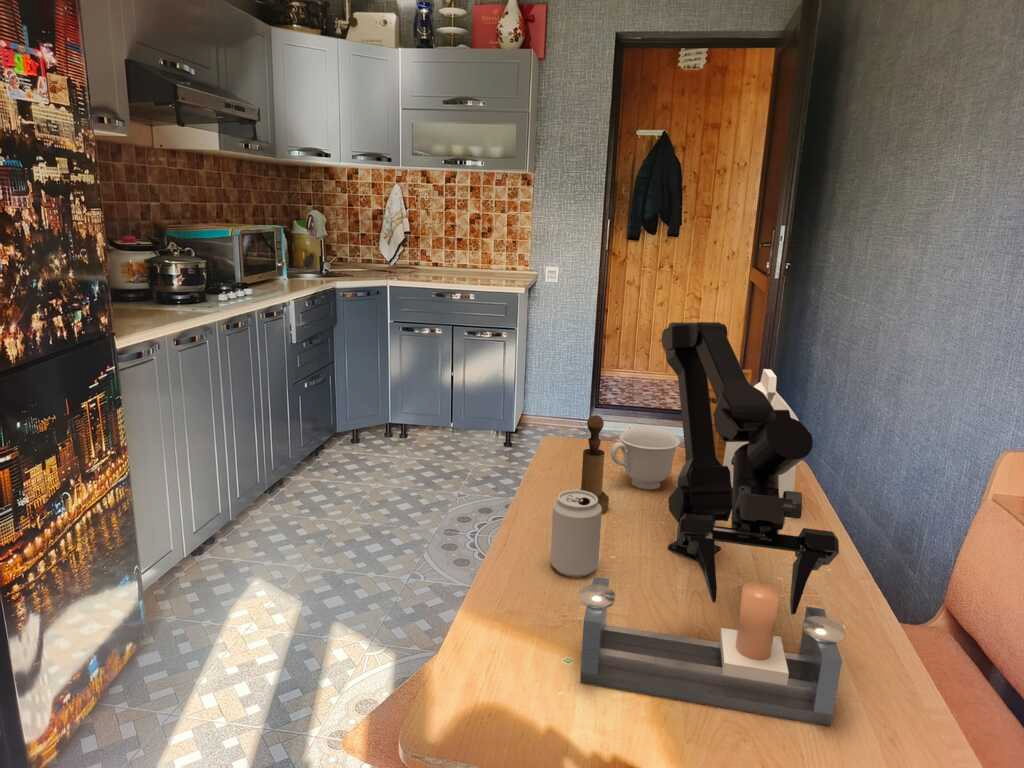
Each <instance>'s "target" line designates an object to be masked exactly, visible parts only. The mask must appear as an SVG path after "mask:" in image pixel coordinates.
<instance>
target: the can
mask: <svg viewBox="0 0 1024 768" xmlns="http://www.w3.org/2000/svg"><path fill="white" fill-rule="evenodd" d="M556 498H557V499H556V500H555V501H554V503H553V504H552V516H551V517H552V520H551V521H552V522H551V539H550V541H551V542H550V543H551V544H550V546H551V547H550V565H552V567H553V568H554V569H555V570H556V571H557V572H558V573H559V574H562V575H563V576H567V577H572V578H582V577H585V576H588V575H590V574H591V573H593V572H594V571H596V570H597V568H598V566H599V562H600V561H599V560H600V547H601V546H600V541H601V527H602V525H601V524H602V508H601V506H600V504H599V503H598V498H597V497H596V495H594V494H592V493H590V492H587V491H583V490H580V489H568V490H564V491H561V492H560V493H558V495H557V497H556Z"/></svg>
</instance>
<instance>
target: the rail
mask: <svg viewBox="0 0 1024 768" xmlns="http://www.w3.org/2000/svg"><path fill="white" fill-rule="evenodd" d="M609 582H610V578H605V577H599V576H593V577H592V583H591V584H588V585H585V586H583V587H581V588H580V589H579V593H578V599H579V601H580V602H581V603H582V604H583V605H584V606H586V608H585V612H584V617H583V624H582V625H583V627H582V642H581V643H582V644H581V657H580V658H581V659H580V660H581V662H580V678H579V680H580V681H579V683H580V684H584V685H585V684H586V685H591V686H597V687H603V688H608V689H615V690H620V691H626V692H630V693H631V692H632V693H637V694H643V695H649V696H655V697H660V698H665V699H671V700H676V701H678V700H679V701H683V702H688V703H694V704H701V705H708V706H712V707H719V708H724V709H730V710H735V711H740V712H741V711H742V712H747V713H753V714H758V715H763V716H769V717H776V718H780V719H787V720H793V721H799V722H804V723H809V724H816V725H821V726H827V727H831V726H832V722H833V717H834V716H833V715H834V709H835V704H836V698H837V692H838V687H839V682H840V675H841V669H842V663H843V659H842V656H841V653H840V651H839V648H838V645H837V644H840V643H842V642H843V641H844V640H845V634H846V631H845V628H844V627H843V626H842V625H841V624H840V623H839V622H837V621H835V620H833V619H831V618H828V616H827V613H826V610H825V608H818V607H817V608H816V607H810V606H806V607H805V613H804V614H805V615H804V619H803V624H802V633H801V640H800V646H799V654H797V653H791V652H785V651H784V655H785V659H786V663H787V667H788V672H789V676H788V682H787V685H782V684H776V683H769V682H763V681H757V680H751V679H745V678H739V677H733V676H727V675H723V670H722V660H721V649H720V641H714V640H707V639H700V638H694V637H688V636H681V635H675V634H668V633H663V632H662V633H661V632H656V631H649V630H643V629H637V628H629V627H622V626H617V625H611V624H607V615H608V614H607V613H608V608H610V607H612V606H613V605H614V604H615V602H616V593H615V592H614V590H613V589H612V588H610V587H609V585H610V583H609Z"/></svg>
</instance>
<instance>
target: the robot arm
mask: <svg viewBox="0 0 1024 768" xmlns="http://www.w3.org/2000/svg"><path fill="white" fill-rule="evenodd" d="M661 346H662V348H663V350H664V354H665V360H666V362H667V364H668V366H669V367H670V368H671V370H672V371H673V372H674V374H676V375H677V380H678V382H677V383H678V390H679V400H680V401H679V403H680V411H681V412H680V413H681V423H682V430H683V431H682V432H683V441H684V442H683V443H684V452H685V453H684V455H685V462H684V465H683V466H682V468H681V471H680V473H679V474H678V476H677V487H676V488H675V490H674V491H673V492H672V493H671V494H670V495H669V497H668V512H669V513H670V514H671V515H672V516H673V518H674V520H675V521H676V522H677V523H678V526H677V527H678V528H677V532H676V533H677V535H676V540H675V541H674V542H671V543H670V544H669V545H667V549H668V550H669V551H672V552H674V553H677V554H679V555H682V556H684V557H687V558H688V559H691V560H693V561H696V562H698V564H699V567H700V569H701V571H702V574H703V577H704V580H705V583H706V587H707V590H708V593H709V596H710V600H711V602H712V603H714V604H715V603H716V602H717V593H718V590H717V589H718V587H717V586H718V585H717V573H716V560H715V559H716V558H715V557H716V556H715V555H716V554H718V553H719V552H721V551H722V547H721V546H720V545H718V544H715V542H719V543H726V544H733V545H734V544H736V545H743V546H751V547H756V548H757V547H758V548H766V549H773V550H779V551H788V552H795V553H794V556H795V557H796V559H795V561H794V562H793V563H792V572H791V586H790V597H789V598H790V599H789V606H790V608H789V609H790V614H791V615H796V613H797V611H798V608H799V605H800V602H801V599H802V595H803V593H804V590H805V586H806V585H807V582H808V579H809V577H810V576H811V574H812V572H813V571H818V570H819V569H820V568H821V567H822V566H829V565H830V564H831V563H832V562H833V560H835V558H836V557H837V556H838V555H839V553H840V549H839V548H840V547H839V546H840V545H839V539H838V537H837V535H836V534H835V532H834V531H831V530H823V529H822V530H821V529H814V528H807V527H803V528H802V529H801V531H800V532H799V534H798V535H791V534H784V533H783V534H782V533H779V532H780V531H782V530H783V528H784V525H785V523H786V520H785V517H788V518H792V519H799V520H800V519H801V518H802V511H803V493H802V492H799V491H794V492H793V491H784V492H783V498H781V497H779V475H781V474H784V473H785V472H787V471H788V470H789V469H791V468H792V467H793V466H795V465H796V466H797V464H798V463H800V462H801V461H802V460H803V459H805V458H806V457H808V455H809V454H810V453H811V452H812V450H813V444H814V442H813V441H814V440H813V435H812V433H811V432H810V431H809V430H808V428H807V427H806V426H805V425H804V424H803V423H801V422H800V421H797V420H795V419H793V418H791V416H790V412H789V410H774V409H773V407H772V405H771V403H770V402H769V401H768V399H767V398H766V396H765V395H764V393H763V392H761V391H760V390H758V389H756V388H755V387H753V385H751V383H750V384H749V382H748V381H747V379H746V377H745V375H744V372H743V370H744V369H743V368H742V366H741V364H740V362H739V360H738V357H737V356H736V353H735V351H734V349H733V346H732V345H731V343H730V341H729V338H728V329H727V326H726V324H725V323H721V322H720V321H719V322H718V321H715V322H714V321H700V322H699V321H698V322H682V321H680V322H679V321H677V322H675V321H674V322H672V321H671V322H670V323H669V324H668V327H667V328H664V329H663V331H662V333H661ZM707 376H708V378H707ZM708 379H709V381H710V384H711V386H712V389H713V391H714V394H715V396H716V400H717V405H716V408H715V411H714V414H713V416H714V424H715V429H716V431H717V433H718V434H719V436H720V438H721V439H722V440H723V441H726V442H749V443H748V444H745V445H742V446H741V447H740V448H738V449H737V450H736V451H735V453H734V456H733V458H732V461H731V464H732V465H734V469H733V488H732V486H731V478H730V470H729V468H728V467H727V466H722V464H721V463H720V462H719V460H718V459H717V458H716V451H715V442H714V433H713V424H712V414H711V405H710V396H709V387H708ZM731 510H732V515H730V513H731ZM730 516H731V526H730V527H726V526H719V525H716V522H718V521H719V522H723V521H724V522H728V521H729V519H730Z"/></svg>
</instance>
